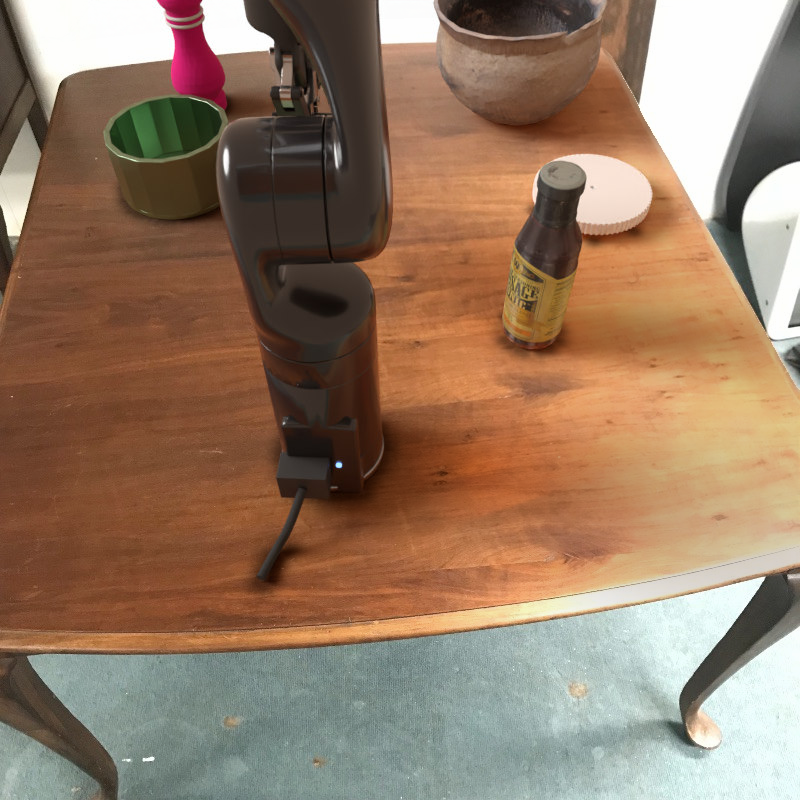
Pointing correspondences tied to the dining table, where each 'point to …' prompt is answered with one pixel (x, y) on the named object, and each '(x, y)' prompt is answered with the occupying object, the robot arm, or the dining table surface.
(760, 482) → the dining table surface
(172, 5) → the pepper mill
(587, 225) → the plastic lid
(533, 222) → the sauce bottle
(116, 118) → the pot
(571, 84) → the ceramic bowl
